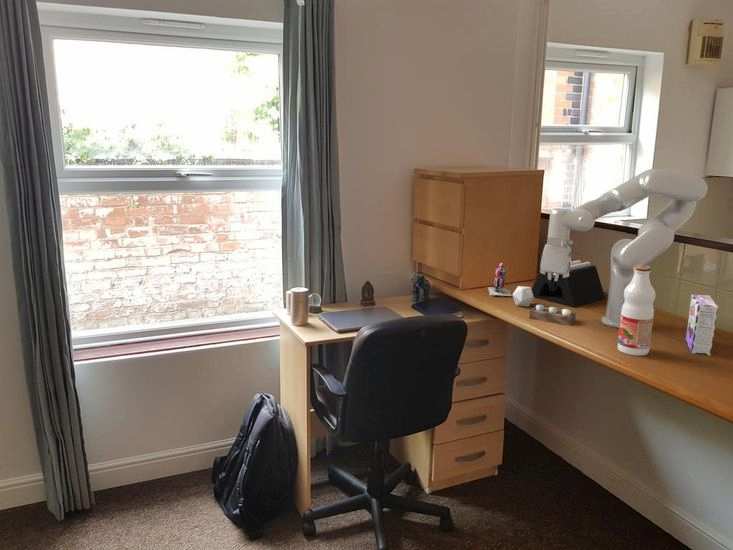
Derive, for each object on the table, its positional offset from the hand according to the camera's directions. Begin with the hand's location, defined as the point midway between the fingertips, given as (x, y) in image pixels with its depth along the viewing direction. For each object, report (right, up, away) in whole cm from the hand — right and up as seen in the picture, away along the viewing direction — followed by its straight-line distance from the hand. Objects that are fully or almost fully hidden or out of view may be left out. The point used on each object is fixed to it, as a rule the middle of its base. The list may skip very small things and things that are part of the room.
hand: (552, 290), depth 217 cm
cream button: (+5, -12, 0) cm, 13 cm away
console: (+1, -11, +2) cm, 11 cm away
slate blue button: (-3, -10, +5) cm, 12 cm away
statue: (-11, -3, +39) cm, 41 cm away
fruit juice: (+16, -19, -30) cm, 39 cm away
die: (-6, -7, +21) cm, 23 cm away
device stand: (+17, -4, +33) cm, 37 cm away
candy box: (+39, -18, -27) cm, 51 cm away
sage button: (+1, -11, +2) cm, 11 cm away
